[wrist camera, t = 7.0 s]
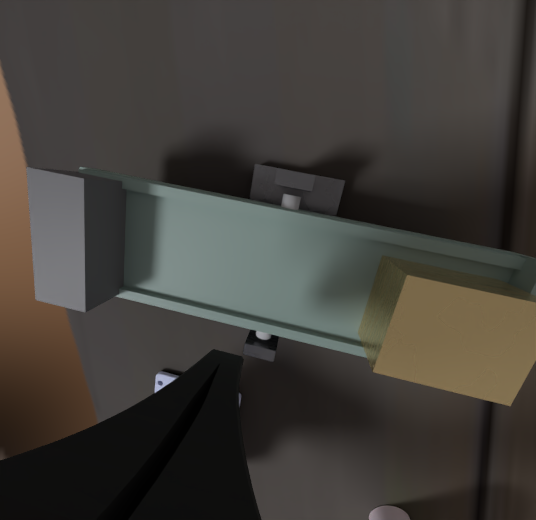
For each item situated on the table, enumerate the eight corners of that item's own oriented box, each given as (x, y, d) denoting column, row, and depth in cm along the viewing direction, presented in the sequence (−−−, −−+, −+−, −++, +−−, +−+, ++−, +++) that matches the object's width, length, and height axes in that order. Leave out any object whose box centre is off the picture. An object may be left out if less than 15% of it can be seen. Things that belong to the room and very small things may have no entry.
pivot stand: (304, 333, 21) (303, 374, 16) (232, 316, 21) (212, 350, 17) (343, 181, 17) (356, 176, 13) (257, 165, 18) (241, 155, 13)
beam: (456, 377, 16) (506, 437, 12) (95, 289, 18) (36, 315, 14) (520, 239, 14) (609, 258, 10) (95, 157, 16) (24, 144, 12)
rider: (463, 357, 15) (510, 406, 11) (357, 332, 15) (372, 371, 12) (498, 279, 13) (564, 308, 10) (382, 255, 14) (407, 275, 10)
